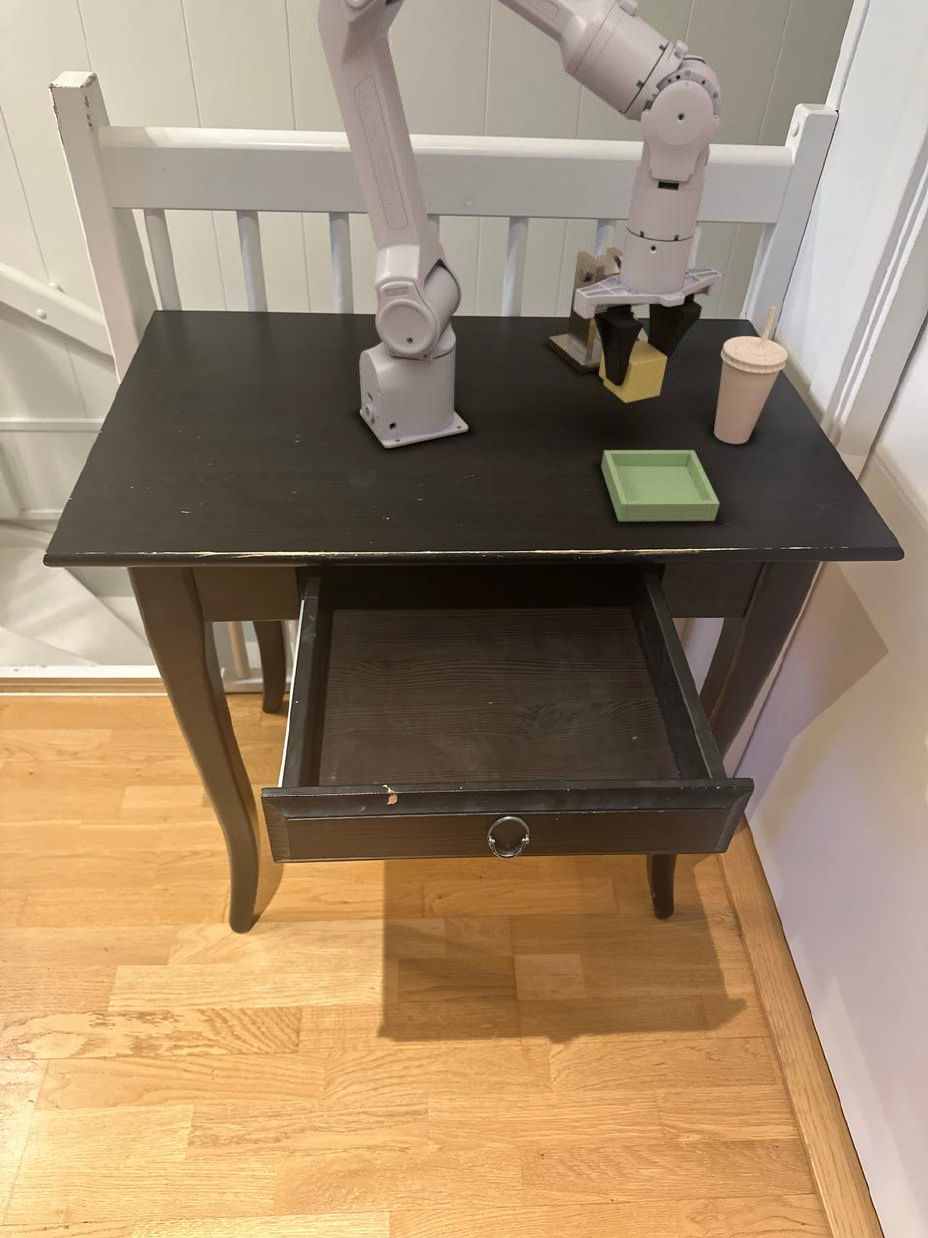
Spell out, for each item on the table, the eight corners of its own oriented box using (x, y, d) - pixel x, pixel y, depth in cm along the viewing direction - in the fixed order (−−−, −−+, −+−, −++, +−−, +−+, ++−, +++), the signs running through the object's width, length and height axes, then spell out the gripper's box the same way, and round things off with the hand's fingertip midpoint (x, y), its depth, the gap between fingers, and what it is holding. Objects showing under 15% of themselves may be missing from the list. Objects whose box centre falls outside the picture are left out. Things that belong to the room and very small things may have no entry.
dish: (618, 521, 78) (621, 503, 77) (600, 467, 85) (603, 449, 83) (714, 520, 79) (720, 503, 77) (690, 466, 85) (694, 449, 84)
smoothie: (763, 454, 87) (805, 324, 78) (701, 446, 88) (734, 316, 79) (760, 423, 92) (799, 297, 82) (700, 416, 93) (732, 290, 83)
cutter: (637, 362, 102) (655, 263, 94) (581, 374, 99) (595, 273, 91) (602, 335, 107) (616, 239, 99) (547, 345, 104) (558, 248, 96)
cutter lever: (660, 371, 94) (672, 353, 92) (638, 376, 93) (649, 358, 91) (605, 270, 99) (614, 250, 96) (583, 274, 98) (592, 254, 95)
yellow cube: (625, 403, 80) (632, 364, 77) (602, 384, 83) (608, 346, 80) (659, 395, 81) (667, 356, 79) (636, 377, 84) (643, 339, 81)
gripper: (614, 256, 67) (591, 410, 76) (757, 234, 72) (719, 381, 81) (569, 228, 71) (552, 376, 81) (706, 209, 76) (675, 350, 85)
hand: (633, 376), depth 81 cm, fingers closed on yellow cube, 4 cm apart
